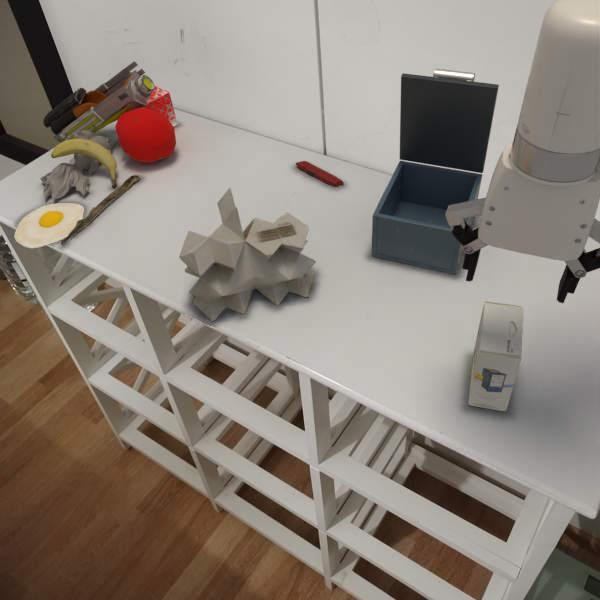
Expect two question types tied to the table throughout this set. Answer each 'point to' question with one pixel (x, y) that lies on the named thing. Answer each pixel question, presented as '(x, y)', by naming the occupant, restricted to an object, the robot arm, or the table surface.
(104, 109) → the toy blaster gun
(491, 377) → the ink box
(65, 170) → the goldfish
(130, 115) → the tomato
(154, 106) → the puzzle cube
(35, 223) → the cracked egg
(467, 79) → the box lid
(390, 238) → the storage bin
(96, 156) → the fruit
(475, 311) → the table surface
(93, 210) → the wooden stick
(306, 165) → the utility knife
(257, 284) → the white crumpled paper lump
